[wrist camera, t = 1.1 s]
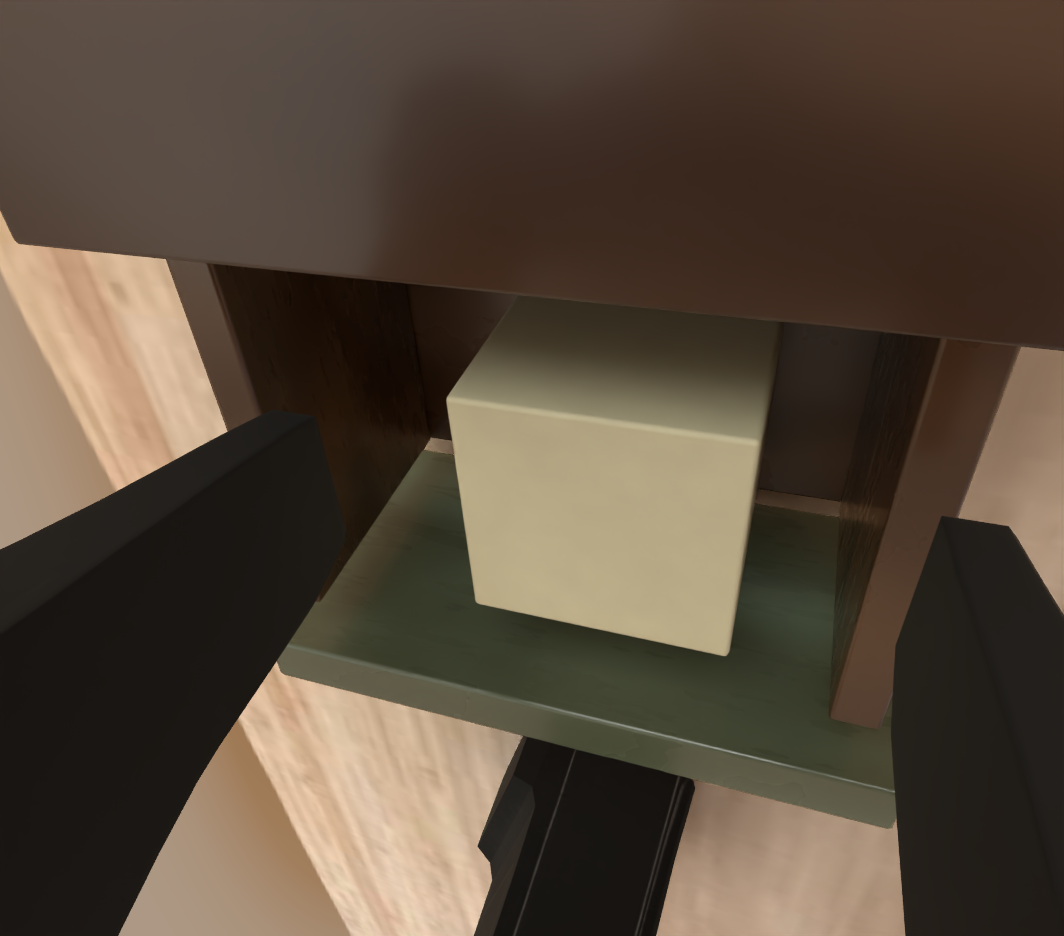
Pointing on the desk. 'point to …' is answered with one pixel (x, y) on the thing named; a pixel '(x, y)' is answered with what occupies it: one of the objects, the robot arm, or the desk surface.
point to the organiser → (565, 149)
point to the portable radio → (580, 844)
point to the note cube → (614, 465)
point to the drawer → (591, 654)
